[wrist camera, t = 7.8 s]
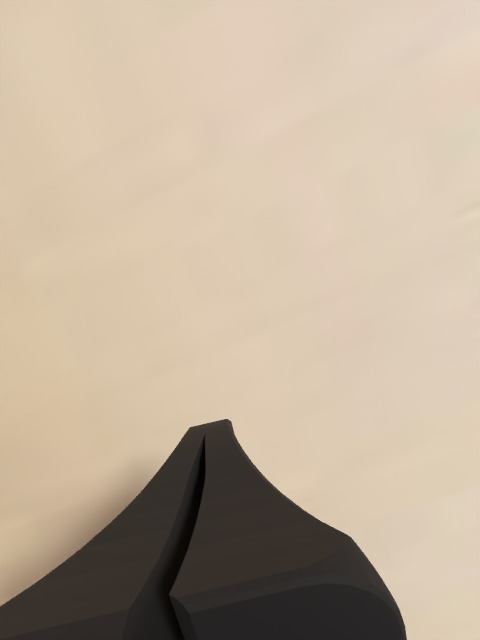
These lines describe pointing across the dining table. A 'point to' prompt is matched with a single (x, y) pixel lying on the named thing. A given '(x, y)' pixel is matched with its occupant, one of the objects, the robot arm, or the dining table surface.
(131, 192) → the dining table surface
